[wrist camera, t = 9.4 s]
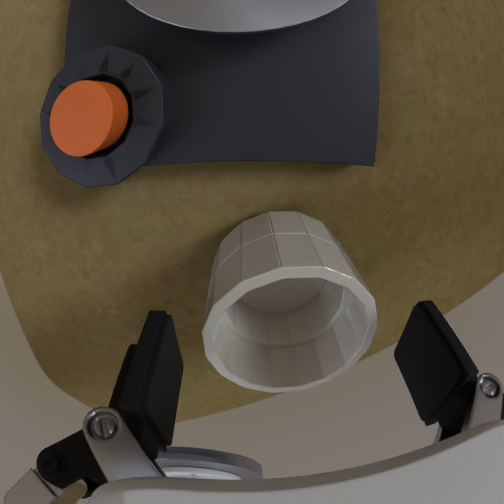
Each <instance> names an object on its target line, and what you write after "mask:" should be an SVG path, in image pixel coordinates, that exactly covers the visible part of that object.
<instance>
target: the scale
mask: <svg viewBox="0 0 504 504" xmlns="http://www.w3.org/2000/svg"><path fill="white" fill-rule="evenodd" d="M82 80H90V81H100V82H108V83H111V84H114V85H115V86H117V87H118V88H119V89H120V90H121V91H122V92H123V93H124V95H125V97H126V99H127V102H128V108H129V116H128V121H127V125H126V128H125V130H124V132H123V133H122V135H121V136H120V138H119V139H118V140H117V141H116V142H115V143H114V144H112V145H111V146H109V147H107V148H105V149H102V150H99V151H97V152H94V153H91V154H89V155H86V156H81V157H75V156H71V155H68V154H66V153H64V152H63V151H62V150H60V149H59V148H58V146H57V145H56V144H55V142H54V140H53V137H52V134H51V130H50V116H51V111H52V108H53V105H54V103H55V101H56V99H57V98H58V96H59V95H60V94H61V92H62V91H63V90H64V89H65V88H67V87H68V86H69V85H71V84H73V83H75V82H78V81H82ZM378 109H379V32H378V15H377V3H376V0H349V1H348V2H347V3H345V4H344V5H343V6H341V7H340V8H339V9H337V10H336V11H334V12H332V13H330V14H329V15H327V16H325V17H323V18H320V19H318V20H316V21H313V22H311V23H308V24H304V25H301V26H298V27H295V28H290V29H285V30H281V31H276V32H268V33H260V34H245V35H219V34H210V33H200V32H194V31H189V30H183V29H180V28H176V27H173V26H169V25H166V24H164V23H161V22H159V21H156V20H154V19H152V18H150V17H148V16H146V15H145V14H143V13H141V12H140V11H138V10H137V9H136V8H135V7H133V6H132V5H131V4H129V3H128V2H127V1H126V0H71V2H70V9H69V16H68V25H67V36H66V50H65V67H64V68H63V69H62V70H61V71H60V72H59V73H58V74H57V75H56V77H55V78H54V79H53V81H52V82H51V84H50V87H49V90H48V92H47V95H46V98H45V100H44V103H43V106H42V109H41V114H40V121H41V134H42V144H43V148H44V150H45V152H46V153H47V155H48V157H49V158H50V160H51V162H52V163H53V165H54V166H55V168H56V170H57V171H58V173H60V174H61V175H63V176H65V177H67V178H69V179H71V180H73V181H75V182H77V183H79V184H81V185H83V186H85V187H87V188H88V187H96V186H105V185H115V184H118V183H120V182H122V181H123V180H124V179H126V178H127V177H129V176H130V175H132V174H133V173H134V172H136V171H137V170H138V169H140V168H141V167H142V166H147V165H159V164H172V163H188V162H210V161H301V162H323V163H339V164H353V165H364V166H374V162H375V152H376V141H377V127H378Z"/></svg>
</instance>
